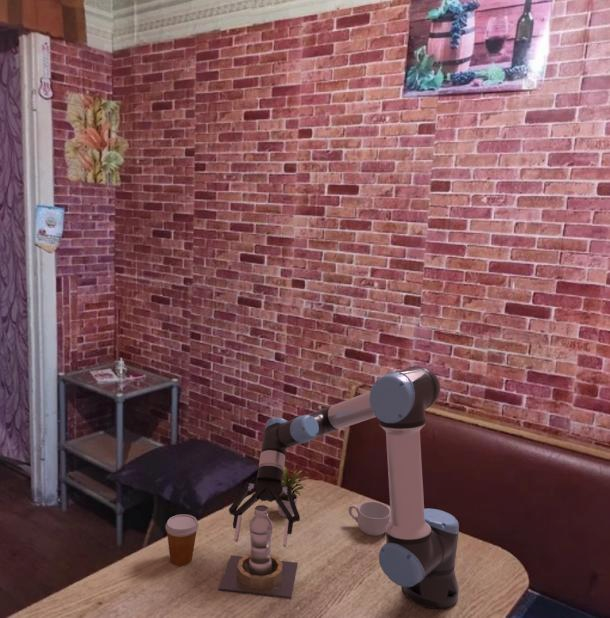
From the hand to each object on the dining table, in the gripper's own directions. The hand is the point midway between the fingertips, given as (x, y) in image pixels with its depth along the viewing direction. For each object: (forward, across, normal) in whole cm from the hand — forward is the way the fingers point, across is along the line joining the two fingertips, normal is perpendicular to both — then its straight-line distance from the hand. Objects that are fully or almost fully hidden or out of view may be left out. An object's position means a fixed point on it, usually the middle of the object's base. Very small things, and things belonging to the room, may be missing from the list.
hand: (260, 543), depth 164 cm
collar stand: (+7, 0, -10) cm, 12 cm away
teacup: (-16, -31, -33) cm, 48 cm away
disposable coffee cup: (+4, +24, -13) cm, 28 cm away
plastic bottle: (+6, 0, -10) cm, 11 cm away
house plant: (-19, -3, -36) cm, 40 cm away
